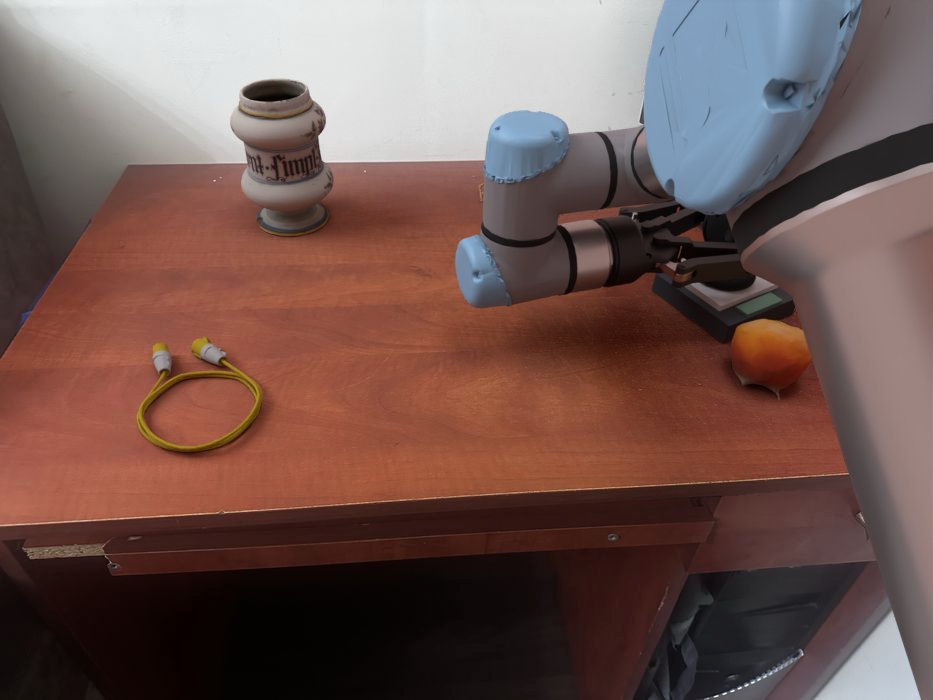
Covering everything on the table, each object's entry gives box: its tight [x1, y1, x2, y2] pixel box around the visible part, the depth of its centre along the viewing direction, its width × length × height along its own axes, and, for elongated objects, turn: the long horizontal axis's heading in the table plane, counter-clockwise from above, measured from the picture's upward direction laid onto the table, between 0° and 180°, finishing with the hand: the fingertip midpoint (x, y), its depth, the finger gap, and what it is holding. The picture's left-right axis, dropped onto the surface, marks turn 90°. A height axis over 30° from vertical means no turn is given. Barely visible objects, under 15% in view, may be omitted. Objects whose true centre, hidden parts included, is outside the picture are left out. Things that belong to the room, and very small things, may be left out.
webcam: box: [701, 213, 756, 291], centre depth 82 cm, size 8×8×10 cm
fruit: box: [730, 319, 813, 401], centre depth 75 cm, size 8×8×8 cm
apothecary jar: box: [229, 78, 335, 237], centre depth 93 cm, size 12×12×18 cm
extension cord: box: [136, 336, 264, 453], centre depth 70 cm, size 12×16×2 cm
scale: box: [651, 273, 796, 344], centre depth 86 cm, size 12×12×3 cm
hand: (771, 225), depth 83 cm, fingers closed on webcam, 7 cm apart
